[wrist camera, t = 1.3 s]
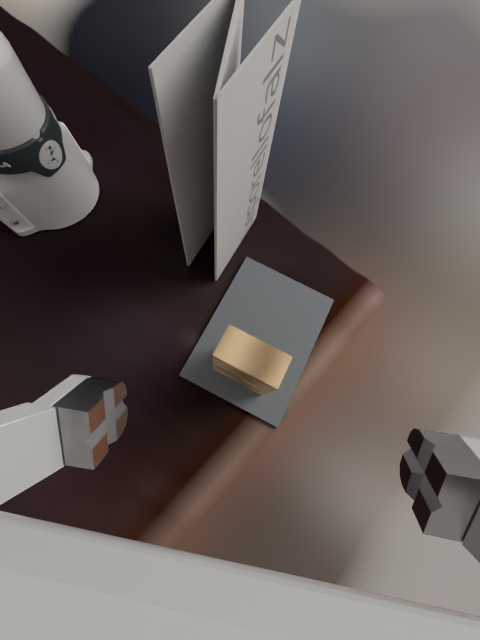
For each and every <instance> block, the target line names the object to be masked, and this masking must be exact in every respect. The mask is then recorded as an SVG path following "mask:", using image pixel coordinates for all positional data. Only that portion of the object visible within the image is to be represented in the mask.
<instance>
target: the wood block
mask: <svg viewBox="0 0 480 640" xmlns="http://www.w3.org/2000/svg"><path fill="white" fill-rule="evenodd" d="M212 358H213V370H215V371H217V372H219V373H221V374H223V375H225V376H226V377H228V378H230V379H232V380H234V381H236V382H238V383H240V384H242V385H244V386H245V387H247V388H249V389H251V390H253V391H255V392H257V393H259V394H261V395H263V394H266V393H269V392H272V391H275V390H278V388H279V386H280V384H281V382H282V380H283V377H284V375H285V373H286V371H287V369H288V366H289V364H290V362H291V360H292V358H293V357H292V356H290V355H288V354H286V353H285V352H283V351H281V350H279V349H277V348H275V347H273V346H271V345H269V344H267V343H265V342H263V341H261V340H259V339H257V338H255V337H253V336H251V335H249V334H248V333H246V332H244V331H242V330H240V329H238V328H236V327H234V326H232V325H230V324H229V326H228V327H227V329H226V331H225V333H224V335H223V337H222V338H221V340H220V342H219V344H218V346H217V348H216V349H215V351H214V353H213V355H212Z"/></svg>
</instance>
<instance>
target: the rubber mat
mask: <svg viewBox="0 0 480 640" xmlns="http://www.w3.org/2000/svg"><path fill="white" fill-rule="evenodd" d="M333 301H334V300H333V299H331V298H329V297H327V296H325V295H323V294H321V293H319V292H317V291H315V290H313V289H311V288H309V287H307V286H305V285H303V284H301V283H299V282H297V281H295V280H293V279H291V278H289V277H287V276H285V275H283V274H280V273H278V272H276V271H274V270H272V269H270V268H268V267H266V266H264V265H262V264H260V263H258V262H256V261H254V260H252V259H250V258H248V257H246V259H245V260H244V262H243V264H242V266H241V267H240V269H239V271H238V273H237V274H236V276H235V278H234V280H233V281H232V283H231V285H230V287H229V288H228V290H227V292H226V294H225V295H224V297H223V299H222V301H221V302H220V304H219V306H218V308H217V309H216V311H215V313H214V315H213V316H212V318H211V320H210V322H209V324H208V325H207V327H206V329H205V331H204V332H203V334H202V336H201V338H200V339H199V341H198V343H197V345H196V346H195V348H194V350H193V352H192V353H191V355H190V357H189V359H188V360H187V362H186V364H185V366H184V367H183V369H182V371H181V373H180V374H179V376H181V377H183V378H185V379H187V380H189V381H191V382H192V383H194V384H196V385H198V386H200V387H202V388H204V389H206V390H207V391H209V392H211V393H213V394H215V395H217V396H219V397H221V398H223V399H224V400H226V401H228V402H230V403H232V404H234V405H236V406H238V407H239V408H241V409H243V410H245V411H247V412H249V413H251V414H253V415H254V416H256V417H258V418H260V419H262V420H264V421H266V422H268V423H269V424H271V425H273V426H275V427H277V428H278V426H279V424H280V422H281V419H282V417H283V415H284V413H285V410H286V408H287V406H288V403H289V401H290V399H291V397H292V394H293V392H294V390H295V387H296V385H297V383H298V381H299V378H300V376H301V374H302V372H303V369H304V367H305V365H306V362H307V360H308V358H309V356H310V353H311V351H312V349H313V346H314V344H315V342H316V340H317V337H318V335H319V333H320V331H321V328H322V326H323V324H324V321H325V319H326V317H327V315H328V312H329V310H330V308H331V305H332V303H333ZM229 324H230V325H232V326H234V327H236V328H238V329H240V330H242V331H244V332H246V333H248V334H249V335H251V336H253V337H255V338H257V339H259V340H261V341H263V342H265V343H267V344H269V345H271V346H273V347H275V348H277V349H279V350H281V351H283V352H285V353H286V354H288V355H290V356H292V357H293V358H292V360H291V362H290V364H289V366H288V369H287V371H286V373H285V375H284V377H283V380H282V382H281V384H280V386H279V388H278V390H275V391H272V392H269V393H266V394H263V395H261V394H259V393H257V392H255V391H253V390H251V389H249V388H247V387H245V386H244V385H242V384H240V383H238V382H236V381H234V380H232V379H230V378H228V377H226V376H225V375H223V374H221V373H219V372H217V371H215V370H213V358H212V355H213V353H214V351H215V349H216V348H217V346H218V344H219V342H220V340H221V338H222V337H223V335H224V333H225V331H226V329H227V327H228V326H229Z"/></svg>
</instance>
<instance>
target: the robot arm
mask: <svg viewBox="0 0 480 640" xmlns="http://www.w3.org/2000/svg"><path fill="white" fill-rule="evenodd" d="M92 166H93V161H92V157H91V156H90V154H89V153H88V152H87V151H84V150H81V149H80V147H79V146H78V144H77V143H76V141H75V140H74V138H73V136H72V135H71V133H70V132H69V130H68V129H67V127H66V126H65V125H64V124H63V123H62V122H59V121H57V119H56V117H55V115H54V113H53V111H52V109H51V108H50V107H49V106H48V104H47V103H46V101H45V100H44V98H43V97H42V96H41V95H40V94H38V93H37V91H36V89H35V88H34V86H33V84H32V82H31V81H30V79H29V77H28V75H27V73H26V72H25V70H24V68H23V66H22V64H21V63H20V61H19V59H18V57H17V56H16V54H15V52H14V50H13V48H12V47H11V45H10V43H9V41H8V40H7V39H6V37H5V36H4V35H3V34H2V32H1V31H0V221H2V222H3V223H4V224H5V225H7V226H8V227H9V228H10V229H11V230H13V231H14V232H15V233H16V234H18V235H19V236H27V235H30V234H33V233H35V232H38V231H41V230H51V229H60V228H64V227H67V226H70V225H73V224H75V223H77V222H78V221H80V220H82V219H83V218H84V217H85V216H87V215H88V214H89V213H90V211H91V210H92V209H93V208H94V206H95V204H96V202H97V200H98V196H99V184H98V181H97V178H96V176H95V174H94V173H93V170H92ZM18 223H19V224H18ZM16 224H18V225H16ZM125 396H126V386H125V384H124V383H123V382H119V381H113V380H108V379H102V378H96V377H90V376H85V375H78V374H76V375H71V376H70V377H68V378H67V379H65V380H64V381H63V382H61V383H60V384H58V385H57V386H56V387H54V388H53V389H51V390H50V391H49V392H47V393H46V394H45V395H43V396H42V397H40V398H39V399H38V400H36V401H35V402H33V403H24V404H21V405H17V406H14V407H11V408H8V409H4V410H1V411H0V505H1V504H2V503H4V502H6V501H7V500H9V499H11V498H12V497H14V496H16V495H17V494H19V493H21V492H22V491H24V490H26V489H27V488H29V487H31V486H32V485H34V484H36V483H37V482H39V481H41V480H42V479H44V478H46V477H47V476H49V475H51V474H52V473H54V472H56V471H57V470H59V469H61V468H62V467H64V465H68V466H74V467H80V468H86V469H93V470H94V469H95V468H96V467H97V465H98V464H99V463H100V461H101V460H102V459H103V457H104V456H105V455H106V454H107V452H108V444H110V443H112V442H114V441H116V440H117V439H118V438H119V436H120V435H121V434H122V432H123V430H124V427H125V425H126V420H127V407H126V406H125V404H124V403H123V402H122V400H123V399H124V398H125ZM407 441H408V443H409V445H410V447H411V449H410V450H408V451H406V452H405V453H404V454H403V455H402V459H401V462H400V478H401V482H402V485H403V488H404V490H405V492H406V493H407V494H408V495H409V496H410V497H411V498H412V499H414V503H413V506H412V509H413V511H414V514H415V516H416V518H417V520H418V523H419V525H420V527H421V530H422V532H423V534H427V535H432V536H436V537H441V538H445V539H450V540H454V541H459V542H463V543H462V545H463V546H464V547H465V548H466V549H467V550H468V551H469V552H470V553H471V554H472V555H473V556H474V557H475V558H476V559H477V560H478V561H479V562H480V439H479V438H477V437H475V436H468V435H459V434H448V433H442V432H435V431H428V430H421V429H413V430H412V431H411V432H410V434H409V437H408V440H407ZM0 640H480V616H477V615H473V614H468V613H463V612H459V611H454V610H450V609H445V608H441V607H435V606H431V605H427V604H422V603H417V602H413V601H409V600H404V599H399V598H395V597H390V596H386V595H381V594H377V593H372V592H367V591H363V590H358V589H354V588H349V587H345V586H340V585H336V584H331V583H326V582H322V581H317V580H313V579H308V578H304V577H299V576H294V575H290V574H285V573H281V572H275V571H272V570H267V569H262V568H258V567H253V566H249V565H244V564H240V563H235V562H231V561H226V560H221V559H217V558H212V557H207V556H203V555H198V554H194V553H189V552H184V551H180V550H176V549H171V548H167V547H162V546H157V545H153V544H148V543H144V542H139V541H135V540H130V539H125V538H121V537H116V536H112V535H107V534H103V533H98V532H93V531H89V530H84V529H80V528H75V527H71V526H66V525H61V524H57V523H52V522H48V521H43V520H39V519H34V518H29V517H25V516H20V515H16V514H11V513H7V512H2V511H0Z"/></svg>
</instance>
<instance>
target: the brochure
mask: <svg viewBox="0 0 480 640" xmlns="http://www.w3.org/2000/svg"><path fill="white" fill-rule="evenodd" d="M300 3H301V0H292V1H291V3H290V4H289V5H288V6H287V8H286V9H285V10H284V11H283V13H282V14H281V15H280V16H279V18H278V19H277V20H276V21H275V23H274V24H273V25H272V26H271V28H270V29H269V30H268V31H267V33H266V34H265V35H264V36H263V38H262V39H261V40H260V41H259V43H258V44H257V45H256V46H255V48H254V49H253V50H252V51H251V53H250V54H249V55H248V56H247V58H246V59H245V60H244V61H243V63H242V64H241V65H240V54H241V39H242V24H243V10H244V0H211V1H210V2H209V3H208V4H207V6H206V7H205V8H204V9H203V10H202V11H201V12H200V13H199V14H198V15H197V16H196V17H195V18H194V19H193V20H192V21H191V22H190V23H189V24H188V26H187V27H186V28H185V29H184V30H183V31H182V32H181V33H180V34H179V35H178V36H177V37H176V38H175V39H174V40H173V41H172V42H171V43H170V44H169V46H168V47H167V48H166V49H165V50H164V51H163V52H162V53H161V54H160V55H159V56H158V57H157V58H156V59H155V60H154V62H152V63H151V65H150V66H149V67H148V69H149V73H150V79H151V84H152V89H153V94H154V99H155V104H156V109H157V115H158V120H159V125H160V130H161V135H162V140H163V145H164V150H165V155H166V160H167V166H168V171H169V176H170V181H171V186H172V191H173V196H174V201H175V206H176V211H177V216H178V221H179V227H180V232H181V237H182V242H183V247H184V252H185V257H186V262H187V266H189V265H190V264H191V262H192V261H193V259H194V258H195V256H196V255H197V253H198V252H199V250H200V249H201V247H202V246H203V244H204V243H205V241H206V240H207V238H208V237H209V235H210V234H211V232H212V231H213V229H214V261H215V281H217V280H218V278H219V276H220V275H221V273H222V272H223V270H224V268H225V267H226V265H227V263H228V262H229V260H230V259H231V257H232V255H233V254H234V252H235V251H236V249H237V247H238V246H239V244H240V243H241V241H242V239H243V238H244V236H245V234H246V233H247V231H248V230H249V228H250V226H251V225H252V223H253V222H254V220H255V218H256V215H257V210H258V205H259V201H260V196H261V191H262V186H263V181H264V176H265V172H266V167H267V161H268V157H269V152H270V148H271V143H272V138H273V133H274V128H275V124H276V118H277V114H278V109H279V104H280V99H281V95H282V89H283V85H284V80H285V75H286V70H287V65H288V61H289V56H290V51H291V46H292V41H293V37H294V32H295V27H296V22H297V17H298V13H299V8H300Z"/></svg>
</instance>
